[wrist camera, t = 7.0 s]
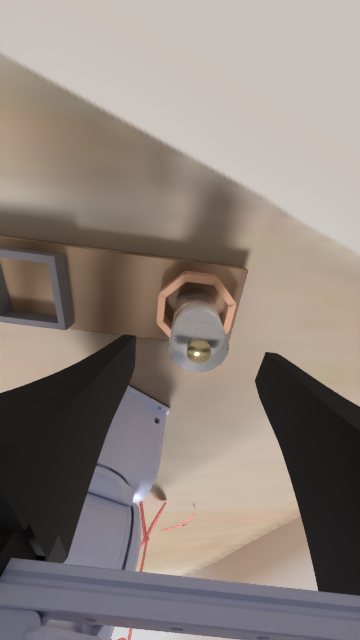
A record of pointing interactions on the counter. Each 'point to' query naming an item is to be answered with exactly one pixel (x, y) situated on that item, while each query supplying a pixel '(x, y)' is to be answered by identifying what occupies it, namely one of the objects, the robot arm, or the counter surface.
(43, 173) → the counter surface
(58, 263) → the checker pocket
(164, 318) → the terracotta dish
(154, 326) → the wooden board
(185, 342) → the steel cell
